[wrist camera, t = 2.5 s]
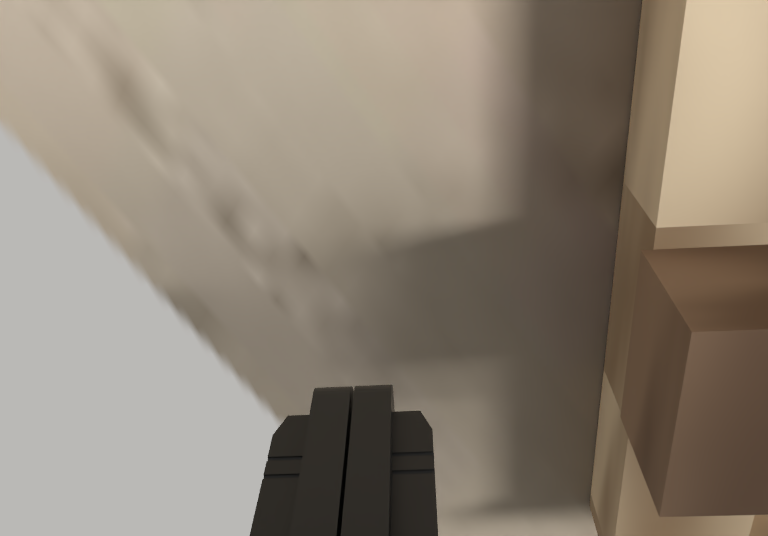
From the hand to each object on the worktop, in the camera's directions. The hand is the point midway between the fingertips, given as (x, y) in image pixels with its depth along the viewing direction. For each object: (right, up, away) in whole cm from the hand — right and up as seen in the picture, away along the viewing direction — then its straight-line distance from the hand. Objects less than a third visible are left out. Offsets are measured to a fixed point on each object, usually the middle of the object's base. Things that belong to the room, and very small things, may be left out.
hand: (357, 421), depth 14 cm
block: (+8, +2, +2) cm, 9 cm away
